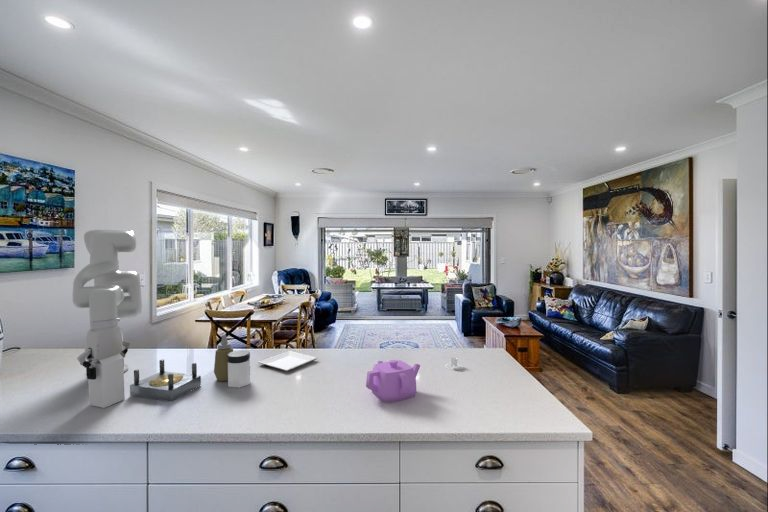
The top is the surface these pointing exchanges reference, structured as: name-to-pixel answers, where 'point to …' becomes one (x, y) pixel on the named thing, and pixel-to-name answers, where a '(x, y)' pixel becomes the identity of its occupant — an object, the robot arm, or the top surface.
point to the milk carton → (107, 382)
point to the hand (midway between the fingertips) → (106, 373)
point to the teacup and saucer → (454, 364)
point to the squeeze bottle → (222, 359)
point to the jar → (238, 368)
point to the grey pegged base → (165, 384)
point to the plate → (287, 360)
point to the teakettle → (392, 380)
